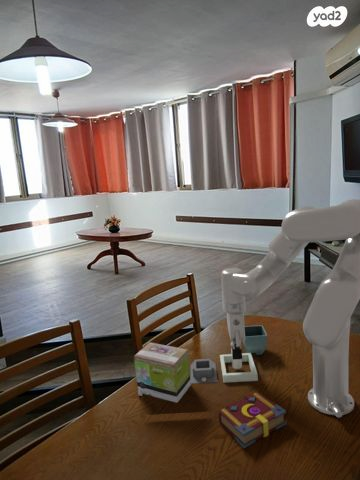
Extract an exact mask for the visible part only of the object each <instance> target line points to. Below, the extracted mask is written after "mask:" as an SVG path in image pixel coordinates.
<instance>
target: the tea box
mask: <svg viewBox="0 0 360 480" xmlns="http://www.w3.org/2000/svg"><path fill="white" fill-rule="evenodd" d="M189 359H190V358H189V350H188V349H187V348H183V347H182V348H181V347H177V346H171V345H167V344H166V345H165V344H161V343H156V342H151V341H150V342H148V343H147V344H146V345H145V346H143V348H142V349H140V350H139V351H138V352H137V353H136V354H135V355H134V356H133V361H134V362H133V363H134V368H135V377H136V387H137V392H138V393H137V394H138V396H141V397H142V396H143V394H144V395H147V396H151V397H154V398H158V399H161V400H165V401H170V402H173V403H178V402H179V401H180V400H182V397H183V396H184V395H185V394H186V392H187V391H188V390H189V388H190V387H192V385H191V384H192V383H191V382H190V380H191V368H190V360H189Z"/></svg>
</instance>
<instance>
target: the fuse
mask: <svg viewBox="0 0 360 480" xmlns="http://www.w3.org/2000/svg"><path fill="white" fill-rule="evenodd" d="M235 344H236V342H234V345H235ZM232 348H233V343H232V341H230V352H231V353H230V354H231V355H232ZM231 368H233V369H235V370H240V369H242V368H243V362H242V359H235V360H234V359H233V357H232V362H231Z"/></svg>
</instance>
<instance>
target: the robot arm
mask: <svg viewBox="0 0 360 480" xmlns="http://www.w3.org/2000/svg"><path fill="white" fill-rule="evenodd" d="M342 240H343V241H344V240H345V241H344V244H343V246H342V248H341V249H340V253H339V256H338V258H337V259H336V262H335V264H334V266H333V268H332V270H331V271H330V272H329V273H328V274H327V275H326V276H325V278H324V279H323V280H322V281H321V283H320V284H319V285H318V288H317V289H316V292H315V294H314V296H313V299H312V301H311V303H310V306H309V308H308V310H307V313H306V314H305V317H304V319H303V323H302V331H303V333H304V334H303V335H304V336H305V338H306V340H307V341H308V342H309V343H310V344H312V388H311V389H310V390H309V391H308V393H307V401H308V403H309V404H310V405H311V407H312V408H314V409H315V410H317V411H318V412H320V413H323V414H325V415H326V414H327V415H330V416H331V415H332V416H336V417H337V418H342V417H343V416H344V415H347V414H350V413H351V412H352V411H354V407H355V400H354V397H353V396H352V395H351V394H350V393H349V360H350V359H349V356H350V354H349V353H350V351H349V350H350V347H349V345H350V331H351V317H352V315H353V313H354V311H355V310H356V307H357V305H358V303H359V302H360V199H357V198H355V199H354V198H353V199H348V200H346V201H343V202H341V203H340V204H338V205H331V206H324V207H318V208H315V207H313V206H308V205H307V206H301V207H299V208H296V209H293V210H291V211H289V212H287V214H286V215H285V217H283V218H282V222H281V228H280V229H279V230H278V232H277V233H276V234H275V236H274V237H273V238H272V239H271V240H270V241H269V242H268V252H266V253H267V254H266V255H265V256H264V257H263V259H262V260H261V261H260V262H259V263H258V264H257V265H256V267H255V268H253V269H251V270H250V271H248V272H246V273H244V271H243V270H242V269H241V268H238V267H230V268H229V267H228V268H225V269H223V270H222V271H221V273H220V279H221V281H220V282H221V283H220V284H221V297H222V301H221V302H222V311H223V312H224V313H226V321H227V324H226V325H227V330H228V335H229V339H230V342H232V343H233V348H232V357H233V359H234V360H235V359H242V353H243V349H242V342H243V341H245V340H246V339H245V327H244V326H245V318H244V312H245V311H246V310H247V309H246V298H251V299H253V298H256V297H258V296H260V295H261V294H262V293H264V291H266V290H267V289H268V288H270V287H271V285H273V283H275V281H277V279H278V278H279V277H280V276H282V274H283V272H285V270H286V269H287V268H288V267H289V265H290V264H292V263H293V261H294V260H295V259H296V257H298V256H299V254H300V253H301V252H302V251H303V250H304V249H305V248H306V247H307V246H308V244H309V243H321V242H331V241H332V242H333V241H342ZM234 342H236V344H235V345H234Z"/></svg>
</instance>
